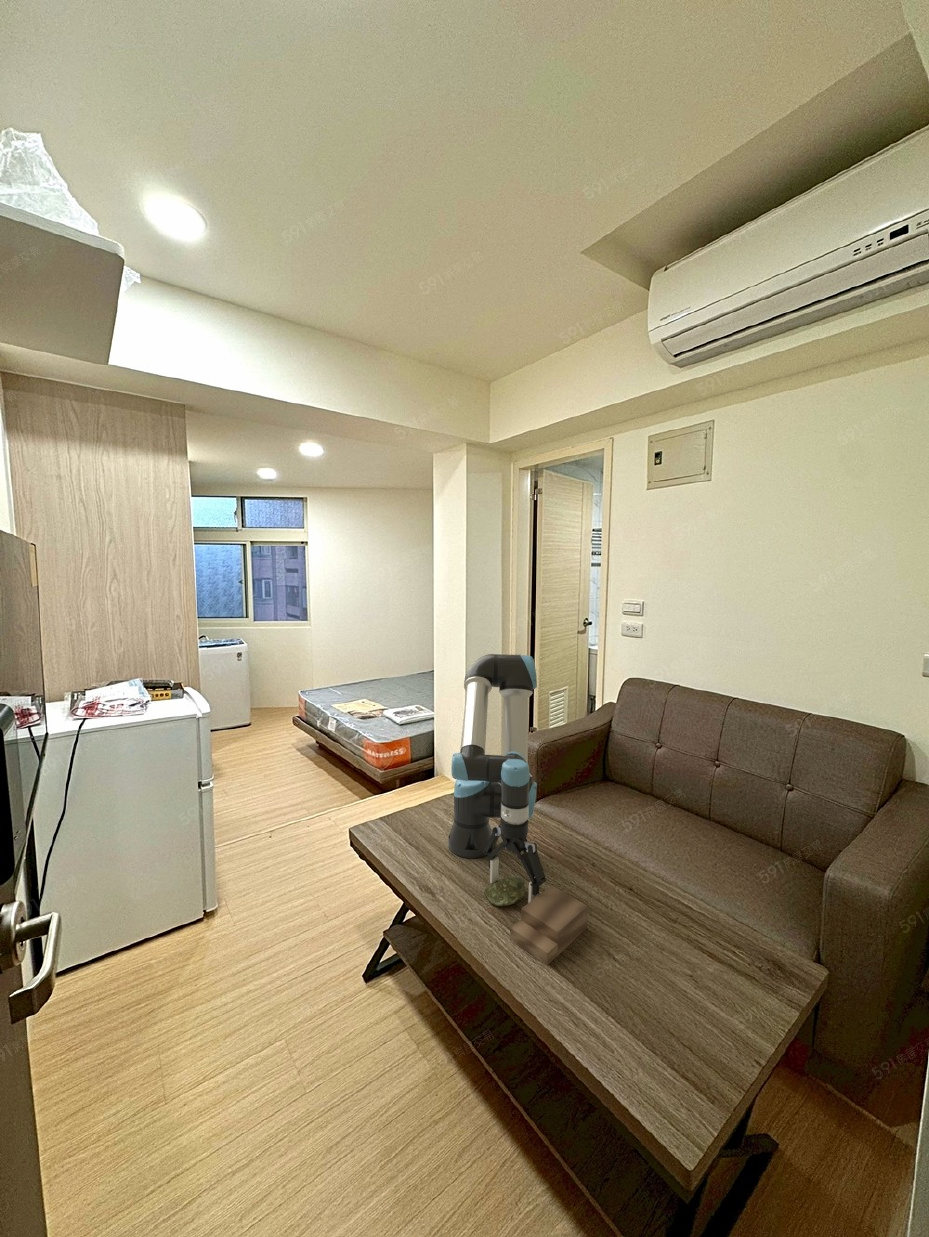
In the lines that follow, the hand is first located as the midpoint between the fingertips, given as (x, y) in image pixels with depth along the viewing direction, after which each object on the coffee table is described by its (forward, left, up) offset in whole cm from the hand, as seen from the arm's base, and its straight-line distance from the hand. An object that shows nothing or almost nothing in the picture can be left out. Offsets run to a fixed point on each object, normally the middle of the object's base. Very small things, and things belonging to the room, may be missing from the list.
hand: (512, 892), depth 132 cm
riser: (+15, -4, -2) cm, 15 cm away
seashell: (-2, 0, -2) cm, 3 cm away
